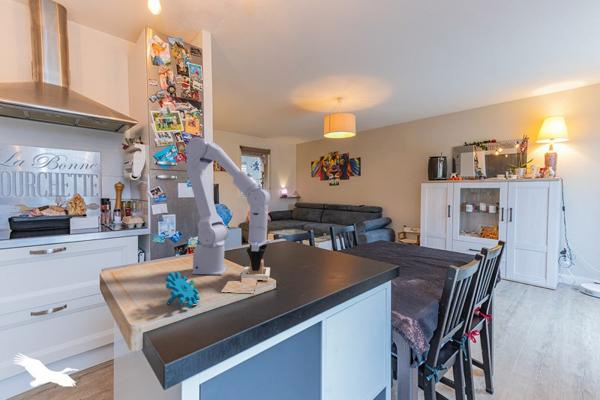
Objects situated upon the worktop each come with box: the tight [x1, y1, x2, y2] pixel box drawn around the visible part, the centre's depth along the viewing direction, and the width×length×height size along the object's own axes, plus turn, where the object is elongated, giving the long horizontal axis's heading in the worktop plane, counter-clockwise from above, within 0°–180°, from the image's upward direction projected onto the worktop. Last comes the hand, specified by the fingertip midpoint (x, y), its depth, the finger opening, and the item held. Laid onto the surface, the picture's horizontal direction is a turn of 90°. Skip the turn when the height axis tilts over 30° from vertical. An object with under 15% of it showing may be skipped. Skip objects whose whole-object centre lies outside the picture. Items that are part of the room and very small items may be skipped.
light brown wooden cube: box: [248, 258, 265, 274], centre depth 86 cm, size 4×4×4 cm
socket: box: [240, 266, 271, 279], centre depth 86 cm, size 8×8×2 cm
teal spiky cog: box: [164, 271, 201, 308], centre depth 64 cm, size 11×6×10 cm
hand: (256, 268), depth 86 cm, fingers open, 4 cm apart
